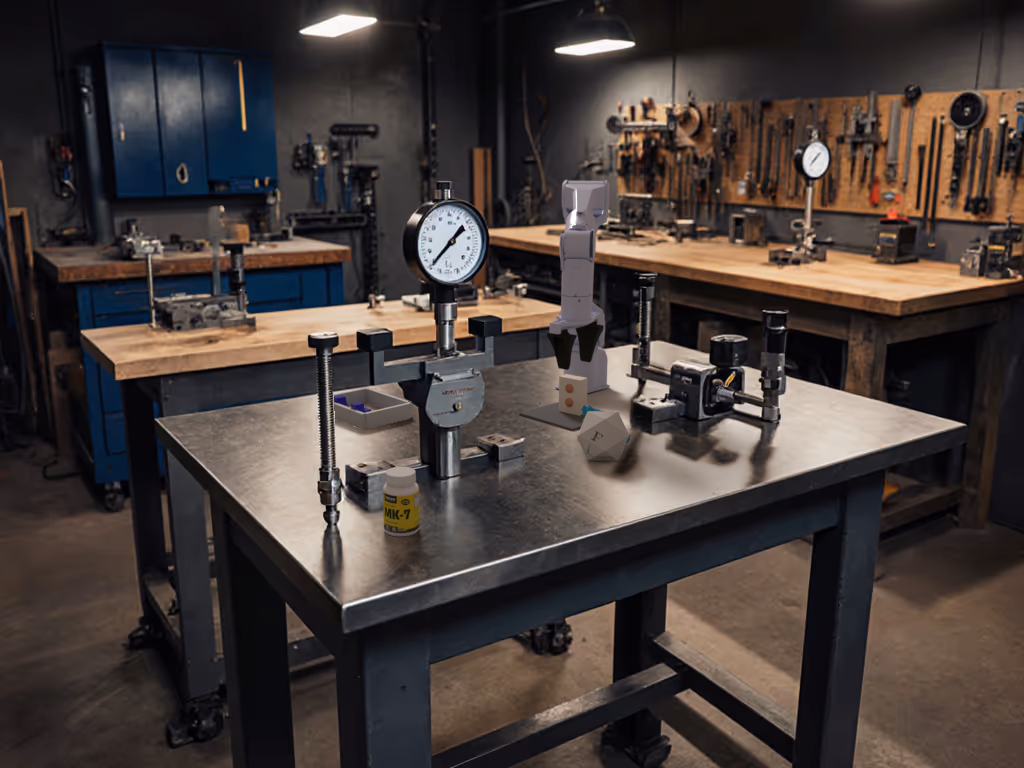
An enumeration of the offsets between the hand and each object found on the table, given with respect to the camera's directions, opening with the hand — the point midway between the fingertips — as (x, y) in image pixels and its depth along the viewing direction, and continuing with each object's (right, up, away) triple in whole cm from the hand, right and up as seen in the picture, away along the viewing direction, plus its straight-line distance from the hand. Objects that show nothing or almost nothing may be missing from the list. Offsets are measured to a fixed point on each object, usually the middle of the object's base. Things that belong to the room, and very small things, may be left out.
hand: (574, 365), depth 168 cm
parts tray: (-40, -10, +1) cm, 42 cm away
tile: (0, -9, +3) cm, 9 cm away
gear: (+4, -14, -15) cm, 21 cm away
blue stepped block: (-42, -11, -1) cm, 44 cm away
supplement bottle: (-27, -24, -50) cm, 62 cm away
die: (+3, -16, -22) cm, 27 cm away
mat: (-1, -10, +1) cm, 10 cm away
